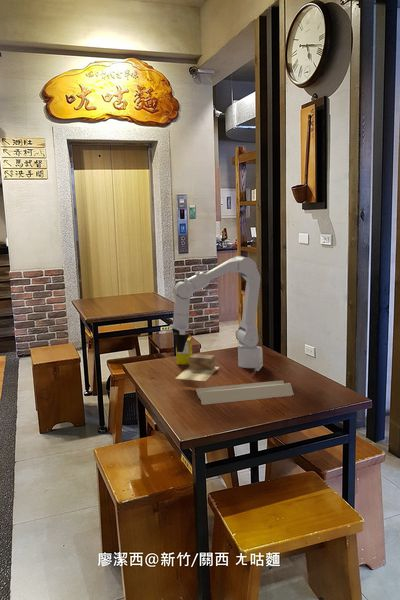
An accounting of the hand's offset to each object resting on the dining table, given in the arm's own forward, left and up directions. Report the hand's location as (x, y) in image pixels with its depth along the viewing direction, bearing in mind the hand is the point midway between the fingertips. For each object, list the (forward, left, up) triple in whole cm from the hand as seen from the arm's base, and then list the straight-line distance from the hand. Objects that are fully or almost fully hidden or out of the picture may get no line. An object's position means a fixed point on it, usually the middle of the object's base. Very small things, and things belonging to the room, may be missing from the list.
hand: (178, 349), depth 186 cm
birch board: (-6, -3, -11) cm, 13 cm away
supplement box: (+4, -15, -11) cm, 19 cm away
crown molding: (-28, +11, -12) cm, 33 cm away
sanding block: (-6, -8, -10) cm, 14 cm away
